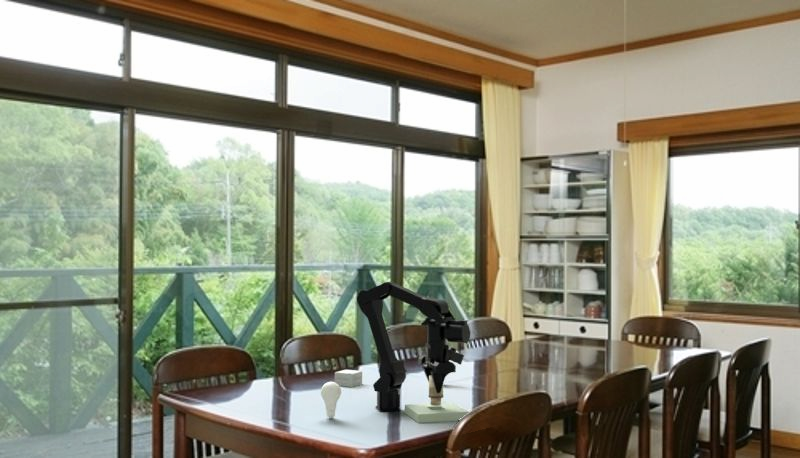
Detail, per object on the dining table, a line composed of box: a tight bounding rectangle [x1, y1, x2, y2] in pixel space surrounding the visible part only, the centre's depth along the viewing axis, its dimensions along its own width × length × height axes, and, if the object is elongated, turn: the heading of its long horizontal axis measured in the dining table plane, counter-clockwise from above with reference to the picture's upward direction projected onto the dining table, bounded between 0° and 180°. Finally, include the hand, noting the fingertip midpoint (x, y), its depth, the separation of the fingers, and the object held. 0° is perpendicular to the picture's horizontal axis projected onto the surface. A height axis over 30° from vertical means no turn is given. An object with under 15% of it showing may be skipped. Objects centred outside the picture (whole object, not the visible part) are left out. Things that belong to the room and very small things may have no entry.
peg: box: [428, 375, 444, 406], centre depth 230 cm, size 5×5×9 cm
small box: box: [334, 369, 363, 388], centre depth 282 cm, size 8×8×5 cm
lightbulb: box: [320, 381, 342, 419], centre depth 226 cm, size 6×6×11 cm
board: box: [404, 401, 470, 424], centre depth 230 cm, size 16×14×2 cm
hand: (436, 391), depth 230 cm, fingers closed on peg, 4 cm apart
